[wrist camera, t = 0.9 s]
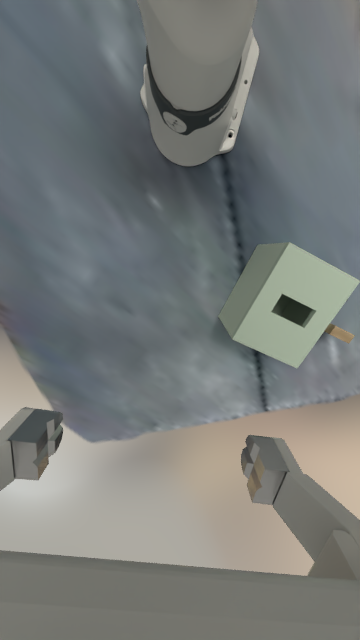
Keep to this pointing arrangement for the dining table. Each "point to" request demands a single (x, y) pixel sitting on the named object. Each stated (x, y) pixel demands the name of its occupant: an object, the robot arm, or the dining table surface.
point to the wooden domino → (339, 333)
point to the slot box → (285, 301)
